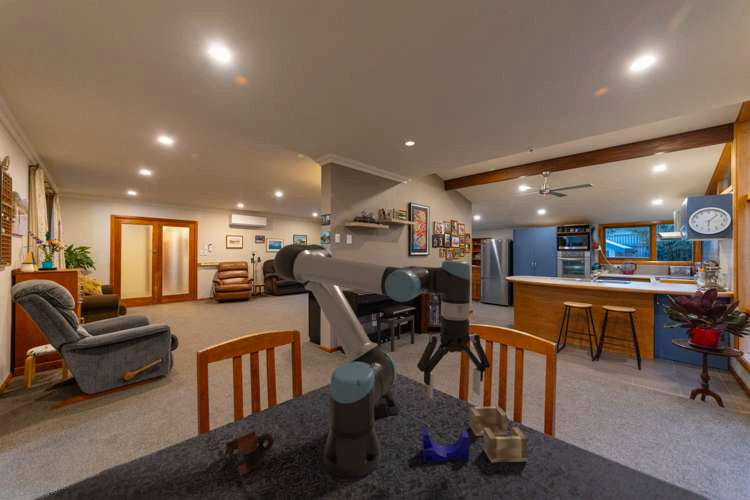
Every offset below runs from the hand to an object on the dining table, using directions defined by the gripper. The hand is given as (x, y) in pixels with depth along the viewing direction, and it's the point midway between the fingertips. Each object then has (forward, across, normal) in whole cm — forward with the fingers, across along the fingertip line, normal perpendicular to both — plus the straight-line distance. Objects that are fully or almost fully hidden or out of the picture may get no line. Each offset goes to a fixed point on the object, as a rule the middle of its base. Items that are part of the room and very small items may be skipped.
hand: (453, 394), depth 81 cm
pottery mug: (+17, -54, +6) cm, 57 cm away
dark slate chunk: (+17, -16, +31) cm, 39 cm away
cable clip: (+16, -2, -2) cm, 16 cm away
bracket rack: (+15, +14, +1) cm, 21 cm away
